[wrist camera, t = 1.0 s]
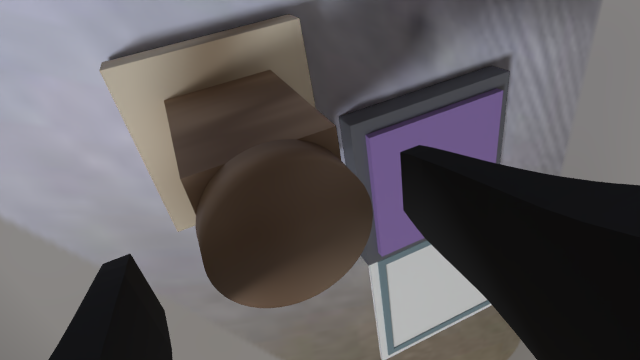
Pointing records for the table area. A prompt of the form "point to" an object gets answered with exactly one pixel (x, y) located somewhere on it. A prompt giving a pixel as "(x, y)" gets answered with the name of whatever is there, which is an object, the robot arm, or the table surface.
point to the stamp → (246, 160)
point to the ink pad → (420, 129)
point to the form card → (418, 297)
